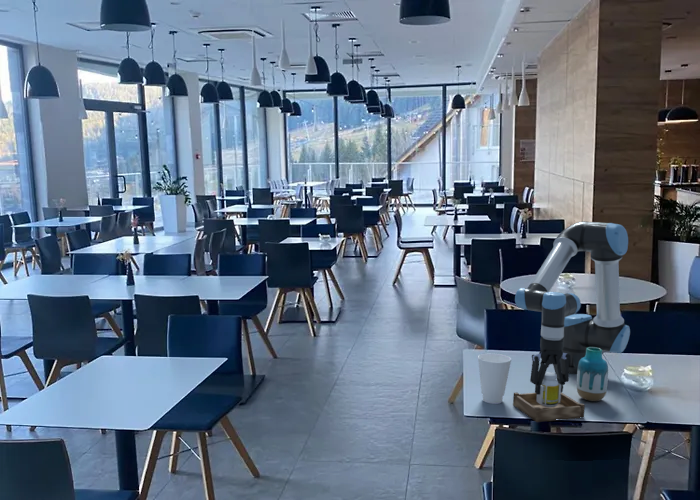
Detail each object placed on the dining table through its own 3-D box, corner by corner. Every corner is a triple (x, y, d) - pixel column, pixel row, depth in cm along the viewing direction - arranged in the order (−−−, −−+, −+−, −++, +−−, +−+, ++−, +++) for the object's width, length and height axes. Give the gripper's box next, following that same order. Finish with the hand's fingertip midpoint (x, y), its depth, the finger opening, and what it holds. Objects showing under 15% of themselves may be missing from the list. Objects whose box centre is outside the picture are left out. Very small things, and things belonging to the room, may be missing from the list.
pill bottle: (559, 404, 232) (561, 373, 231) (554, 409, 227) (556, 378, 226) (542, 400, 236) (544, 370, 234) (536, 405, 231) (538, 374, 229)
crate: (557, 401, 242) (558, 389, 241) (583, 417, 226) (584, 404, 226) (513, 405, 237) (513, 392, 236) (536, 422, 222) (537, 408, 221)
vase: (570, 394, 249) (574, 345, 246) (598, 394, 250) (601, 344, 247) (583, 405, 238) (586, 353, 236) (611, 404, 239) (615, 353, 237)
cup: (502, 408, 233) (504, 364, 231) (470, 401, 240) (472, 358, 238) (513, 398, 243) (515, 356, 241) (482, 392, 250) (484, 351, 248)
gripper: (570, 333, 234) (566, 396, 237) (521, 336, 229) (517, 400, 232) (583, 338, 227) (578, 403, 230) (532, 341, 222) (528, 408, 225)
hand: (548, 402), depth 231 cm, fingers closed on pill bottle, 6 cm apart
